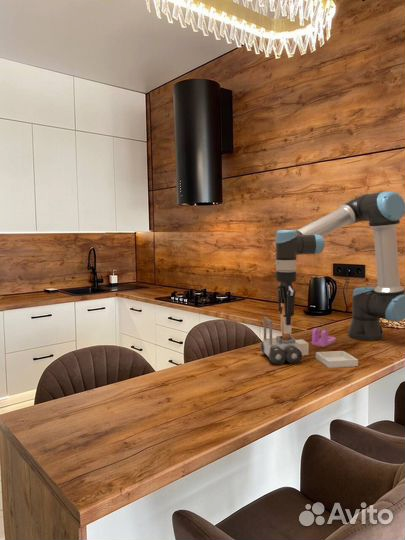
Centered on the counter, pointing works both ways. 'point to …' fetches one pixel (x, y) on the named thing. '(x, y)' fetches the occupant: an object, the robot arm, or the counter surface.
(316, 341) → the bracket
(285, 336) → the pin
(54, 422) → the counter surface
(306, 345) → the off-white matte cube
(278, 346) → the trolley
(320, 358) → the tray
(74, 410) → the counter surface
